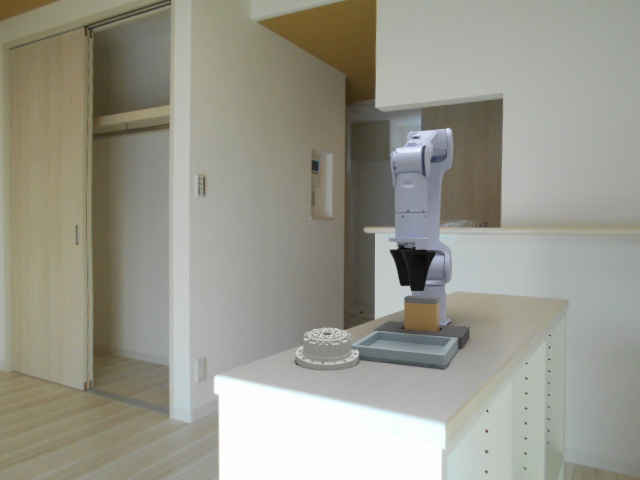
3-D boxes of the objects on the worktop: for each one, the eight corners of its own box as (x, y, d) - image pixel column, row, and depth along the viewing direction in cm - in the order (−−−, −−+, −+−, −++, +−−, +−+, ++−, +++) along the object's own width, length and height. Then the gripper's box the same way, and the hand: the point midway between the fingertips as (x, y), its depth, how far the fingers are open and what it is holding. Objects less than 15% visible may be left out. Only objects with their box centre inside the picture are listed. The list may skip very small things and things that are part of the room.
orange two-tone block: (408, 336, 89) (408, 295, 89) (439, 339, 87) (439, 297, 87) (404, 339, 87) (404, 297, 87) (436, 342, 84) (436, 299, 84)
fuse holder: (389, 330, 95) (389, 320, 95) (469, 337, 88) (469, 327, 88) (373, 340, 86) (373, 329, 86) (461, 348, 79) (461, 337, 79)
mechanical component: (289, 371, 68) (355, 375, 66) (288, 343, 67) (355, 346, 66) (303, 348, 78) (361, 351, 76) (302, 322, 77) (361, 325, 75)
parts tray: (375, 341, 85) (375, 330, 85) (458, 349, 79) (458, 337, 79) (349, 358, 73) (349, 345, 73) (444, 369, 67) (444, 355, 67)
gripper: (381, 215, 90) (381, 284, 90) (398, 211, 75) (399, 293, 75) (416, 214, 90) (417, 283, 90) (440, 211, 76) (441, 293, 76)
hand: (411, 288), depth 83 cm, fingers open, 7 cm apart
